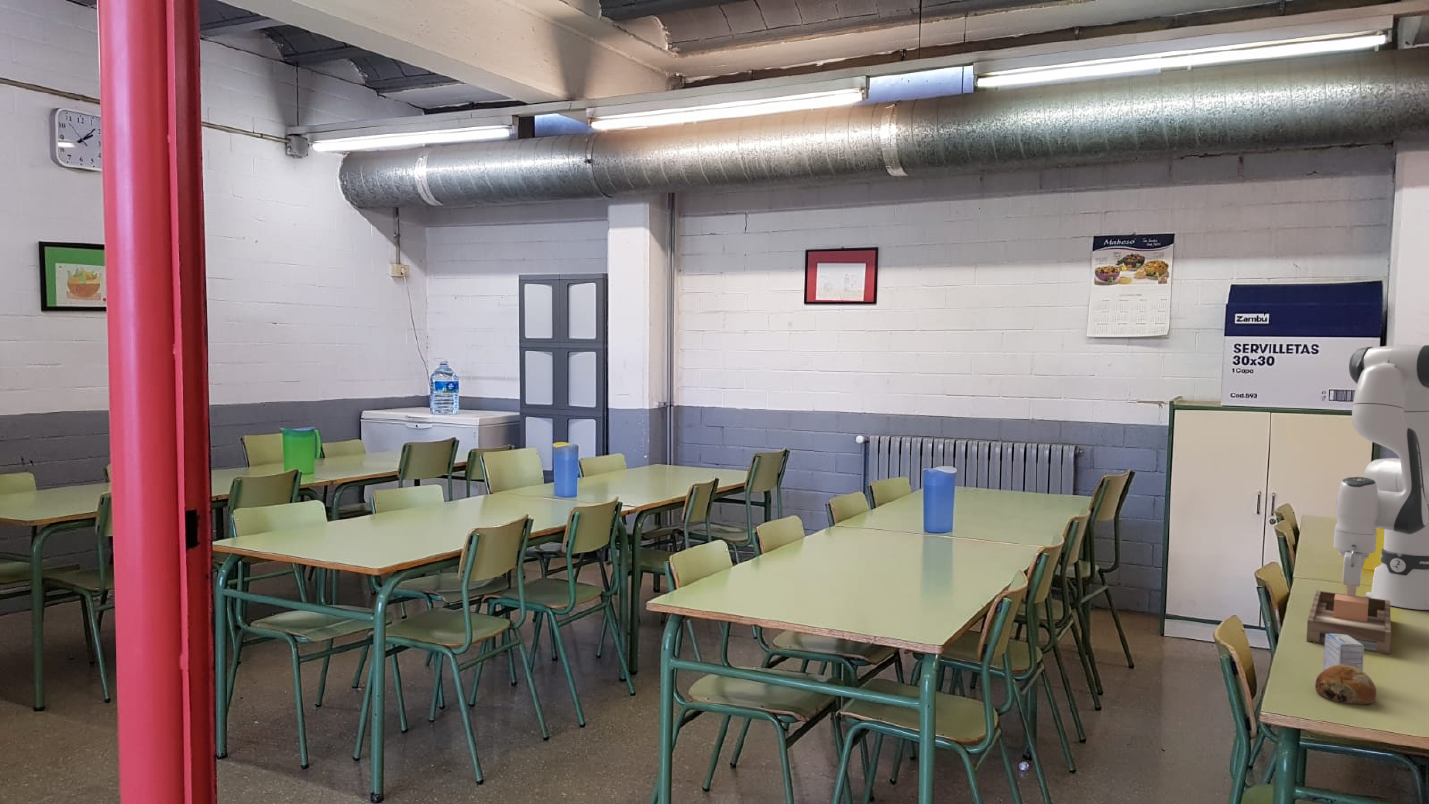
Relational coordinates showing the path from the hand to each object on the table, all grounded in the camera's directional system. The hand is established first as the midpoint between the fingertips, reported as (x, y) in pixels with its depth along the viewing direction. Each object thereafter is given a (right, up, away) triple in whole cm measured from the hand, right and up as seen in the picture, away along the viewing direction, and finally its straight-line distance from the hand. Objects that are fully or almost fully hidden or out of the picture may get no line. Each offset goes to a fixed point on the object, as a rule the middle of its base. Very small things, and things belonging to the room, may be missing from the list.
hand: (1350, 597), depth 248 cm
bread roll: (-37, -9, -55) cm, 67 cm away
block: (-3, -4, -4) cm, 6 cm away
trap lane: (-5, -7, -7) cm, 11 cm away
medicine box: (-31, -8, -45) cm, 55 cm away
